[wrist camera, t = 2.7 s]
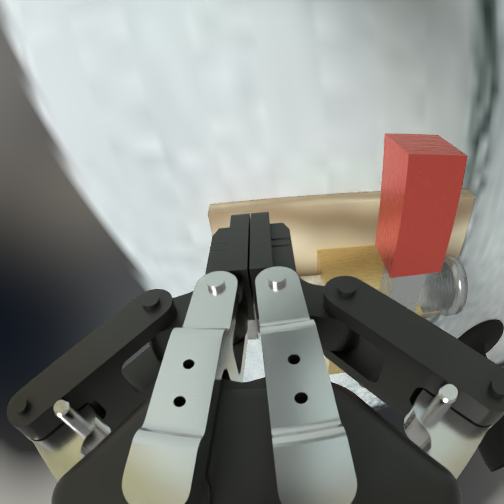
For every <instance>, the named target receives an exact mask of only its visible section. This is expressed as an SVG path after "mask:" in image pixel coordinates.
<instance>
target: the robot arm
mask: <svg viewBox="0 0 504 504" xmlns="http://www.w3.org/2000/svg"><path fill="white" fill-rule="evenodd" d="M255 311H256V318H257V320H258V319H259V321H260V334H261V343H262V352H263V361H264V370H265V378H261V379H257V380H254V381H250V382H243V374H244V366H245V358H246V349H247V341H248V335H247V331H248V320H255ZM147 343H149V345H150V347H149V348H147V349H146V350H145V351H144V352H143V353H141V354H140V355H139V356H138V357H137V358H136V359H134V360H133V361H132V362H131V363H130V364H128V365H127V366H126V367H125V368H124V369H122V365H123V364H124V362H125V361H126V360H127V359H129V358H130V357H131V356H132V355H133V354H135V353H136V352H137V351H138V350H139V349H141V348H142V347H143V346H144V345H145V344H147ZM324 356H325V357H326V358H327V359H329V360H330V361H331V362H333V363H334V364H335V365H336V366H338V367H339V368H340V369H342V370H343V371H344V372H345V373H347V374H348V375H349V376H351V377H352V378H353V379H354V380H356V381H357V382H358V383H360V384H361V385H362V386H364V387H365V388H366V389H367V390H369V391H370V392H371V393H373V394H374V395H375V396H377V397H378V398H379V399H381V400H382V401H383V402H385V403H386V404H387V405H389V406H390V407H391V408H393V409H394V410H395V411H397V412H398V413H400V414H401V415H402V416H403V417H405V420H404V429H405V432H406V434H407V436H408V437H409V438H410V439H411V440H412V441H411V440H410V439H409V438H408V437H406V436H405V435H404V434H403V433H402V432H400V431H399V430H398V429H397V428H395V427H394V426H393V425H392V424H391V423H389V422H388V421H386V419H384V418H383V417H382V416H381V415H380V414H378V413H377V412H376V411H375V410H374V409H372V408H371V407H370V406H369V405H368V404H366V403H365V402H364V401H363V400H362V399H361V398H359V397H358V396H357V395H356V394H354V393H353V392H351V391H350V390H348V389H347V388H345V387H343V386H340V385H338V384H335V383H332V382H331V381H330V377H329V373H328V369H327V365H326V362H325V358H324ZM121 369H122V370H121ZM503 415H504V369H503V368H501V367H500V366H498V365H497V364H495V363H494V362H492V361H491V360H489V359H488V358H486V357H484V356H483V355H481V354H480V353H478V352H477V351H475V350H474V349H472V348H470V347H469V346H467V345H466V344H464V343H463V342H461V341H459V340H458V339H456V338H455V337H453V336H452V335H450V334H448V333H447V332H445V331H444V330H442V329H440V328H439V327H437V326H436V325H434V324H432V323H431V322H429V321H428V320H426V319H424V318H423V317H421V316H419V315H418V314H416V313H415V312H413V311H411V310H410V309H408V308H406V307H405V306H403V305H401V304H400V303H398V302H397V301H395V300H393V299H392V298H390V297H388V296H387V295H385V294H383V293H382V292H380V291H378V290H377V289H375V288H373V287H372V286H370V285H368V284H367V283H365V282H363V281H362V280H360V279H358V278H355V277H352V276H338V277H335V278H332V279H331V280H329V281H328V282H327V283H326V285H325V286H321V285H315V284H311V283H308V282H306V281H304V280H303V279H301V278H300V277H299V275H298V274H297V272H296V267H295V260H294V254H293V247H292V241H291V235H290V229H289V228H288V227H287V226H286V225H285V224H284V223H272V224H270V219H269V211H268V212H257V213H251V219H250V214H249V213H247V214H236V215H231V220H230V227H228V228H219V229H218V230H217V231H216V233H215V234H214V235H213V237H212V242H211V247H210V253H209V258H208V263H207V268H206V274H205V275H204V276H202V277H201V278H200V279H199V280H198V281H197V283H196V285H195V288H194V291H192V292H190V293H188V294H185V295H182V296H178V297H175V298H172V296H171V294H170V293H169V292H167V291H165V290H162V289H153V290H149V291H146V292H144V293H143V294H141V295H140V296H138V297H137V298H136V299H134V300H133V301H132V302H130V303H129V304H128V305H126V306H125V307H124V308H122V309H121V310H120V311H119V312H117V313H116V314H115V315H113V316H112V317H111V318H110V319H108V320H107V321H106V322H104V323H103V324H102V325H100V326H99V327H98V328H97V329H95V330H94V331H93V332H91V333H90V334H89V335H88V336H86V337H85V338H84V339H83V340H81V341H80V342H79V343H77V344H76V345H75V346H74V347H72V348H71V349H70V350H69V351H68V352H66V353H65V354H64V355H62V356H61V357H60V358H59V359H57V360H56V361H55V362H54V363H52V364H51V365H50V366H49V367H48V368H46V369H45V370H44V371H43V372H41V373H40V374H39V375H38V376H36V377H35V378H34V379H33V380H31V381H30V382H29V383H28V384H27V385H26V386H24V387H23V388H22V389H21V390H19V391H18V392H17V393H16V394H15V395H14V396H13V397H12V399H11V400H10V402H9V404H8V407H7V417H8V420H9V422H10V423H11V424H12V425H13V426H14V427H16V428H17V429H18V430H19V431H21V432H22V433H23V434H24V435H25V436H26V437H27V438H28V439H30V440H31V441H32V442H34V444H35V445H36V447H37V449H38V451H39V452H40V454H41V456H42V457H43V459H44V461H45V463H46V464H47V466H48V468H49V469H50V471H51V472H52V474H53V475H54V477H55V478H56V480H57V482H58V483H57V484H56V487H55V489H54V492H53V496H52V504H462V495H461V490H460V487H459V484H458V482H457V480H456V479H457V477H458V476H459V475H460V473H461V472H462V470H463V469H464V467H465V466H466V464H467V463H468V461H469V460H470V458H471V456H472V455H473V454H474V452H475V450H476V449H477V447H478V446H479V444H480V442H481V441H482V439H483V437H484V436H485V434H486V432H487V430H489V429H490V428H491V427H492V426H493V425H494V424H495V423H496V422H497V421H498V420H499V419H500V418H501V417H502V416H503Z"/></svg>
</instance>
